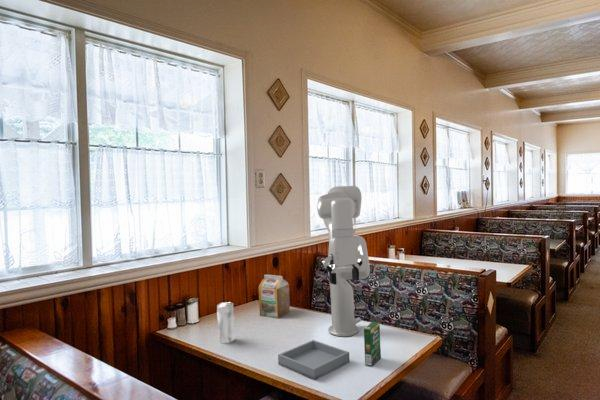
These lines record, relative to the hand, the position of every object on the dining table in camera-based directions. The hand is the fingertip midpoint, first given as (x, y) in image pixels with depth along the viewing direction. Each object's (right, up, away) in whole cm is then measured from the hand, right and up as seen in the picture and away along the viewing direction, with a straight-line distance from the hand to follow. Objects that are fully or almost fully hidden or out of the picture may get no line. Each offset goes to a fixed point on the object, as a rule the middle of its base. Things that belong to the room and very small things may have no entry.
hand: (344, 281), depth 147 cm
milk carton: (-28, -27, +55) cm, 67 cm away
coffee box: (+10, -27, -4) cm, 29 cm away
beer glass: (-46, -29, +23) cm, 59 cm away
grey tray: (-11, -28, -2) cm, 30 cm away
